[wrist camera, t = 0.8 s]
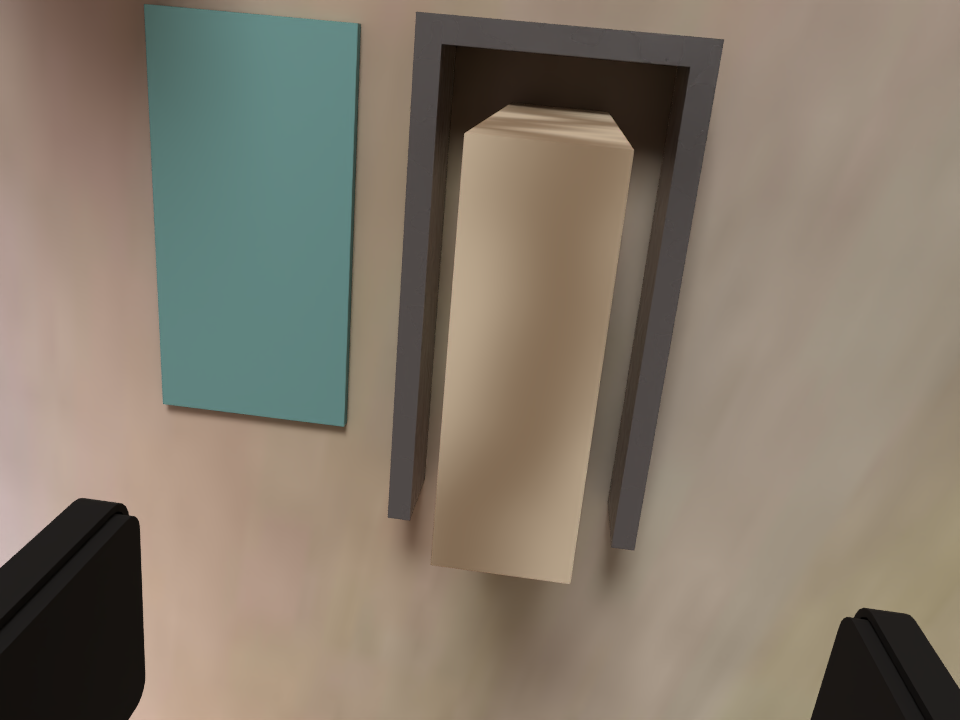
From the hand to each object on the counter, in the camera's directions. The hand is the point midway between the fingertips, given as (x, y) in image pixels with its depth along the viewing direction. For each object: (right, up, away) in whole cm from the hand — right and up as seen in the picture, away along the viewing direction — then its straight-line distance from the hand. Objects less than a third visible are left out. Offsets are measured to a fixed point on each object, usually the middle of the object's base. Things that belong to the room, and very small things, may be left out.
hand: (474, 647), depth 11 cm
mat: (-10, +10, +27) cm, 30 cm away
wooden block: (+3, +9, +26) cm, 27 cm away
